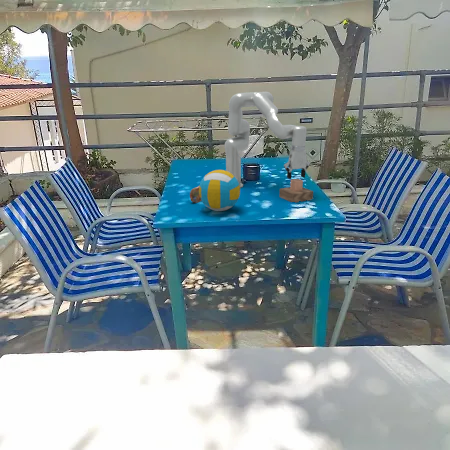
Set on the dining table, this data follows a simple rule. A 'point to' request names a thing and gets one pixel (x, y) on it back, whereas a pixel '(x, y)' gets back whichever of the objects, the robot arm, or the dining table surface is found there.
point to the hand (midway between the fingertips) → (296, 177)
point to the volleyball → (219, 190)
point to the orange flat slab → (195, 195)
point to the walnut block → (296, 194)
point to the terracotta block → (296, 185)
